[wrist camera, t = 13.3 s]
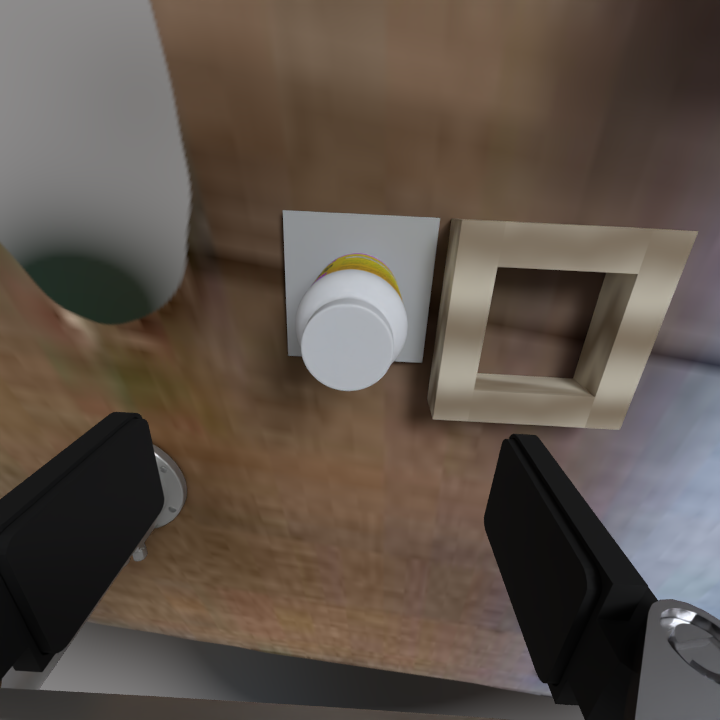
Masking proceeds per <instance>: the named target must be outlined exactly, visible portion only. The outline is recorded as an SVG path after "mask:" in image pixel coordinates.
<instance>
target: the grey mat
mask: <svg viewBox="0 0 720 720" xmlns="http://www.w3.org/2000/svg"><path fill="white" fill-rule="evenodd" d="M439 223H440V218H429V217H409V216H388V215H368V214H348V213H327V212H307V211H287V210H283V229H284V256H285V282H286V309H287V336H288V356H302V354H301V347H300V345H299V342H298V339H297V335H296V314H297V310H298V307H299V304H300V302H301V300H302V298H303V296H304V295H305V293H306V292H307V290H308V289H309V288H310V287H311V286H312V284H313V283H314V282H315V280H316V279H317V278H318V276H319V275H320V274H321V272H322V271H323V270H324V269H325V268H326V266H327V265H328V264H329V263H331V262H332V261H333V260H335V259H336V258H338V257H340V256H342V255H345V254H349V253H365V254H369V255H372V256H374V257H376V258H378V259H380V260H381V261H383V262H384V263H385V264H386V265H387V266H388V267H389V269H390V270H391V271H392V273H393V275H394V277H395V279H396V281H397V284H398V288H399V291H400V294H401V297H402V301H403V304H404V307H405V310H406V315H407V321H408V330H407V337H406V340H405V343H404V346H403V348H402V350H401V352H400V354H399V355H398V357H397V358H396V359H395V360H394V361H398V362H417V363H422V360H423V352H424V344H425V336H426V328H427V320H428V312H429V303H430V295H431V287H432V279H433V271H434V263H435V255H436V247H437V239H438V231H439Z"/></svg>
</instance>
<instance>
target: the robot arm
mask: <svg viewBox="0 0 720 720" xmlns="http://www.w3.org/2000/svg"><path fill="white" fill-rule="evenodd" d="M186 498H187V486H186V481H185V478H184V476H183V474H182V471H181V470H180V468H179V467H178V466H177V464H176V463H175V462H174V461H173V460H172V458H171V457H170V456H169V455H168V454H166V453H165V452H164V451H163V450H161V449H160V448H159V447H157V446H155V445H153V444H152V439H151V434H150V430H149V425H148V422H147V421H146V420H145V419H142V417H141V415H140V414H138V413H125V412H113V413H111V414H109V415H108V416H107V417H105V418H104V419H103V420H102V421H100V422H99V423H98V424H96V425H95V426H94V427H93V428H91V429H90V430H89V431H87V432H86V433H85V434H84V435H82V436H81V437H80V438H79V439H77V440H76V441H75V442H73V443H72V444H71V445H70V446H68V447H67V448H66V449H64V450H63V451H62V452H61V453H59V454H58V455H57V456H55V457H54V458H53V459H52V460H50V461H49V462H48V463H46V464H45V465H44V466H43V467H41V468H40V469H39V470H37V471H36V472H35V473H34V474H32V475H31V476H30V477H28V478H27V479H26V480H25V481H23V482H22V483H21V484H19V485H18V486H17V487H16V488H14V489H13V490H12V491H10V492H9V493H8V494H7V495H5V496H4V497H3V498H1V499H0V720H505V719H494V718H481V717H465V716H452V715H437V714H421V713H408V712H393V711H378V710H363V709H348V708H334V707H318V706H302V705H286V704H270V703H254V702H237V701H221V700H205V699H189V698H172V697H156V696H138V695H120V694H102V693H84V692H66V691H48V690H39V689H40V687H41V686H42V684H43V682H44V681H45V680H46V678H47V677H48V676H49V674H50V673H51V671H52V670H53V668H54V667H55V665H56V664H57V663H58V661H59V660H60V658H61V657H62V655H63V654H64V652H65V651H66V650H67V648H68V647H69V645H70V644H71V642H72V641H73V639H74V638H75V636H76V635H77V634H78V632H79V631H80V629H81V628H82V626H83V625H84V624H85V622H86V621H87V619H88V618H89V616H90V615H91V614H92V612H93V611H94V609H95V608H96V606H97V605H98V603H99V602H100V601H101V599H102V598H103V596H104V595H105V593H106V592H107V591H108V589H109V588H110V586H111V585H112V583H113V582H114V580H115V579H116V578H117V576H118V575H119V573H120V572H121V570H122V569H123V568H124V567H125V566H126V565H127V564H128V563H129V561H130V559H131V558H130V557H131V556H132V555H133V558H134V560H135V561H141V560H143V559H144V558H145V557H146V556H147V554H148V552H147V549H146V545H145V543H144V542H145V541H146V539H147V538H148V537H149V535H150V534H151V532H152V531H153V529H154V528H159V527H161V526H164V525H166V524H168V523H169V522H171V521H172V520H173V519H174V518H175V517H176V516H177V515H178V514H179V512H180V511H181V509H182V507H183V506H184V504H185V501H186ZM484 526H485V530H486V533H487V536H488V539H489V542H490V545H491V547H492V550H493V553H494V556H495V559H496V561H497V564H498V567H499V570H500V573H501V575H502V578H503V581H504V584H505V587H506V589H507V592H508V595H509V598H510V600H511V603H512V606H513V609H514V612H515V614H516V617H517V620H518V623H519V626H520V628H521V631H522V634H523V637H524V640H525V642H526V645H527V648H528V651H529V654H530V656H531V659H532V662H533V665H534V668H535V670H536V673H537V675H538V677H539V679H540V680H541V681H542V682H543V683H548V686H549V688H550V691H551V694H552V696H553V699H554V701H555V704H565V705H579V707H580V709H581V712H582V714H583V716H584V719H585V720H720V620H718V619H717V618H715V617H714V616H712V615H710V614H709V613H707V612H706V611H704V610H702V609H700V608H697V607H695V606H693V605H691V604H688V603H685V602H681V601H677V600H673V599H666V600H659V601H658V600H657V598H656V597H655V596H654V594H653V593H652V592H651V590H650V589H649V588H648V585H647V584H646V582H645V581H644V580H643V578H642V577H641V576H640V574H639V573H638V572H637V570H636V569H635V567H634V566H633V565H632V563H631V562H630V561H629V559H628V558H627V557H626V555H625V554H624V553H623V551H622V550H621V549H620V547H619V546H618V544H617V543H616V542H615V540H614V539H613V538H612V536H611V535H610V534H609V532H608V531H607V530H606V528H605V527H604V526H603V524H602V523H601V521H600V520H599V519H598V517H597V516H596V515H595V513H594V512H593V511H592V509H591V508H590V507H589V505H588V504H587V503H586V501H585V500H584V498H583V497H582V496H581V494H580V493H579V492H578V490H577V489H576V488H575V486H574V485H573V484H572V482H571V481H570V479H569V478H568V477H567V475H566V474H565V473H564V471H563V470H562V469H561V467H560V466H559V465H558V463H557V462H556V461H555V459H554V458H553V456H552V455H551V454H550V452H549V451H548V450H547V448H546V447H545V446H544V444H543V443H542V442H541V440H540V439H539V438H538V437H537V436H536V435H525V434H512V435H511V436H510V437H509V439H504V440H503V442H502V446H501V450H500V454H499V458H498V462H497V466H496V470H495V474H494V478H493V482H492V487H491V491H490V495H489V499H488V503H487V507H486V511H485V515H484Z"/></svg>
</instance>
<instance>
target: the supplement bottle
mask: <svg viewBox="0 0 720 720" xmlns="http://www.w3.org/2000/svg"><path fill="white" fill-rule="evenodd" d="M407 330H408V321H407V315H406V310H405V307H404V304H403V301H402V297H401V294H400V291H399V288H398V284H397V281H396V279H395V277H394V275H393V273H392V271H391V270H390V269H389V267H388V266H387V265H386V264H385V263H384V262H383V261H381V260H380V259H378V258H376V257H374V256H372V255H369V254H365V253H349V254H345V255H342V256H340V257H338V258H336V259H335V260H333V261H332V262H331V263H329V264H328V265H327V266H326V268H325V269H324V270H323V271H322V272H321V274H320V275H319V276H318V278H317V279H316V280H315V282H314V283H313V284H312V286H311V287H310V288H309V289H308V290H307V292H306V293H305V295H304V296H303V298H302V300H301V302H300V304H299V307H298V310H297V314H296V335H297V339H298V342H299V345H300V347H301V354H302V358H303V361H304V364H305V366H306V367H307V369H308V370H309V372H310V373H311V374H312V375H313V376H314V377H315V378H316V379H317V380H318V381H319V382H321V383H322V384H324V385H326V386H328V387H330V388H333V389H337V390H341V391H355V390H360V389H364V388H366V387H369V386H371V385H373V384H374V383H376V382H377V381H378V380H380V379H381V378H382V377H383V376H384V374H385V373H386V372H387V370H388V369H389V367H390V365H391V364H392V363H393V362H394V360H395V359H396V358H397V357H398V355H399V354H400V352H401V350H402V348H403V346H404V343H405V340H406V337H407Z"/></svg>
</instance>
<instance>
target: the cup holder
mask: <svg viewBox="0 0 720 720" xmlns="http://www.w3.org/2000/svg"><path fill="white" fill-rule="evenodd" d="M697 233H698V231H684V230H669V229H652V228H632V227H611V226H591V225H571V224H551V223H530V222H510V221H490V220H469V219H452V220H451V227H450V234H449V242H448V249H447V256H446V264H445V271H444V278H443V286H442V293H441V300H440V308H439V315H438V322H437V330H436V337H435V344H434V352H433V359H432V366H431V374H430V381H429V388H428V396H427V401H428V404H429V408H430V411H431V415H432V418H433V419H436V420H454V421H472V422H490V423H508V424H526V425H544V426H561V427H579V428H597V429H615V430H620V428H621V425H622V423H623V420H624V418H625V415H626V413H627V410H628V408H629V405H630V403H631V400H632V398H633V395H634V393H635V390H636V388H637V385H638V383H639V380H640V377H641V375H642V372H643V370H644V367H645V365H646V362H647V360H648V357H649V355H650V352H651V350H652V347H653V345H654V342H655V340H656V337H657V335H658V332H659V329H660V327H661V324H662V322H663V319H664V317H665V314H666V312H667V309H668V307H669V304H670V302H671V299H672V297H673V294H674V292H675V289H676V287H677V284H678V281H679V279H680V276H681V274H682V271H683V269H684V266H685V264H686V261H687V259H688V256H689V254H690V251H691V249H692V246H693V244H694V241H695V239H696V236H697ZM497 267H510V268H530V269H550V270H569V271H589V272H606V275H605V278H604V281H603V284H602V288H601V291H600V294H599V297H598V300H597V304H596V307H595V310H594V313H593V316H592V320H591V323H590V326H589V329H588V332H587V336H586V339H585V342H584V345H583V348H582V352H581V355H580V358H579V361H578V364H577V367H576V371H575V374H574V377H573V378H556V377H537V376H519V375H500V374H482V373H477V371H478V365H479V360H480V355H481V350H482V345H483V340H484V334H485V329H486V324H487V319H488V314H489V309H490V303H491V298H492V293H493V288H494V283H495V278H496V272H497Z"/></svg>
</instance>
